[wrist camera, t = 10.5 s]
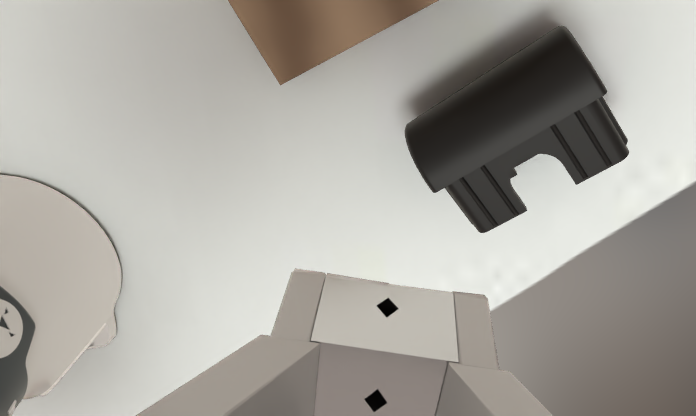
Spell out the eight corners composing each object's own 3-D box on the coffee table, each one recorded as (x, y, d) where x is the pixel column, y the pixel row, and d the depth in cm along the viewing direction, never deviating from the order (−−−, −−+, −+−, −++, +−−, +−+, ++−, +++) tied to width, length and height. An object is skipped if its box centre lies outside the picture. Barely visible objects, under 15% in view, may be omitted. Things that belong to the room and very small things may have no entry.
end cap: (552, 9, 33) (578, 40, 27) (610, 107, 35) (645, 155, 29) (405, 106, 37) (400, 152, 31) (466, 189, 39) (472, 246, 33)
